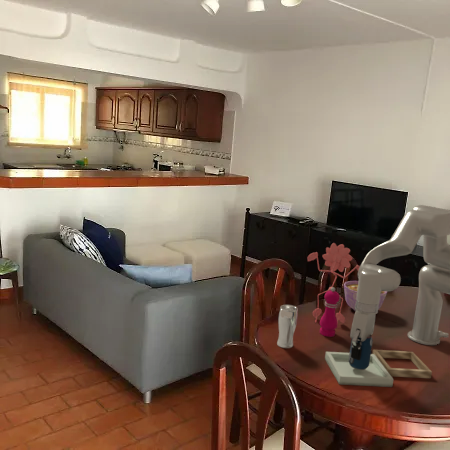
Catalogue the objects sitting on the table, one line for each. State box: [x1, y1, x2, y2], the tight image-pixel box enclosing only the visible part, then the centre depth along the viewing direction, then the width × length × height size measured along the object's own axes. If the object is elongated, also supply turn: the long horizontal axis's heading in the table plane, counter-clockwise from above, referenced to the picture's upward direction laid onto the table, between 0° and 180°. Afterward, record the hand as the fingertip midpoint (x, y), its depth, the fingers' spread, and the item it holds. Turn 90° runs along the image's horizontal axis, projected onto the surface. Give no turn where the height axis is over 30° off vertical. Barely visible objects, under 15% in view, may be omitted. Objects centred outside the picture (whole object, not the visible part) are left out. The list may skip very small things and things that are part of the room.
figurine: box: [306, 242, 361, 326], centre depth 211 cm, size 15×26×35 cm, turn 65°
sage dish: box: [324, 351, 394, 388], centre depth 167 cm, size 18×18×3 cm
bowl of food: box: [343, 280, 388, 312], centre depth 229 cm, size 20×20×12 cm
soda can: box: [349, 334, 374, 370], centre depth 166 cm, size 7×7×12 cm
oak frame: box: [371, 349, 433, 379], centre depth 174 cm, size 15×15×2 cm
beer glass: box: [276, 304, 299, 349], centre depth 183 cm, size 7×7×15 cm
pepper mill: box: [319, 286, 341, 338], centre depth 197 cm, size 7×7×20 cm
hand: (359, 354), depth 166 cm, fingers closed on soda can, 7 cm apart
